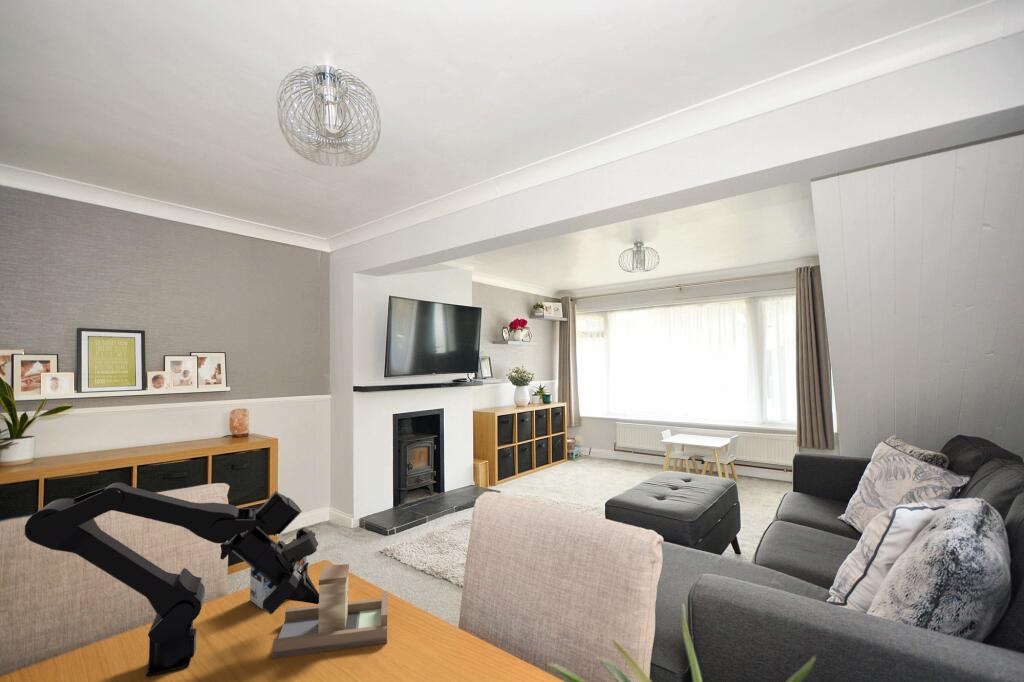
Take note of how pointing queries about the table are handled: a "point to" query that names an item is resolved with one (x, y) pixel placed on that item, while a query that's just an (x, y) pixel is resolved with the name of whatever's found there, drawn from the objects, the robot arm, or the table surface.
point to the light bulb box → (262, 586)
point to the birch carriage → (333, 598)
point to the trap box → (360, 630)
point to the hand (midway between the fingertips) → (319, 601)
